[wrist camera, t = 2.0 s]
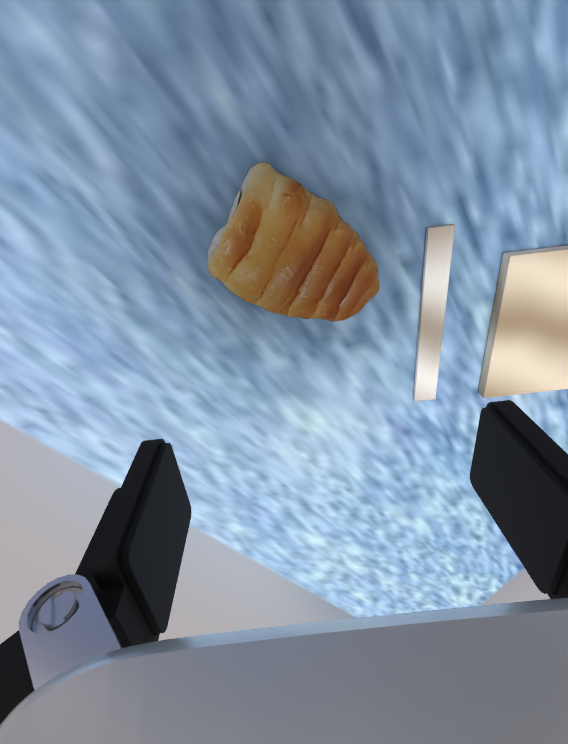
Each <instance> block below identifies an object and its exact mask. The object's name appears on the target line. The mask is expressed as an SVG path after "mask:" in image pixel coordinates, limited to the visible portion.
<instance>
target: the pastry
mask: <svg viewBox="0 0 568 744" xmlns="http://www.w3.org/2000/svg"><path fill="white" fill-rule="evenodd" d="M208 270H209V273H210V274H211V275H212V277H214V278H216V279H218V280H220V281H221V282H222V283H224V284H225V286H226V287H227V288H228V289H229V290H230V291H231V292H233V293H234V294H235V295H237V296H238V297H240V298H242V299H243V300H245V301H246V302H249V303H252V304H255V305H258V306H261V307H263V308H264V309H266V310H268V311H270V312H272V313H280V314H283V315H285V316H288V317H300V318H303V319H309V318H314V319H315V318H319V319H325V320H329V321H340V320H345V319H347V318H349V317H351V316H353V315H355V314H356V313H358V312H359V311H360V310H361V309H362V308H363V307H364V306H365V304H366V303H367V302H368V301H369V300H370V299H371V298H373V297H374V296H375V295H376V293H377V292H378V290H379V280H378V268H377V263H376V261H375V259H374V258H373V257H372V256H371V254H370V253H369V252H368V251H367V250H366V247H365V245H364V243H363V242H362V241H361V240H360V237H359V235H358V234H357V233H356V232H355V231H354V230H353V229H352V228H351V227H350V226H349V225H348V224H347V223H345V222H344V221H343V220H342V219H341V218H340V216H339V215H338V213H337V211H336V208H335V206H334V205H333V203H332V202H330V201H328V200H326V199H323V198H318V197H316V196H315V195H313V194H312V193H311V192H309V191H308V190H306V189H304V188H303V187H302V185H301V184H299V183H298V182H297V181H295V180H293V179H291V178H289V177H286V176H284V175H282V174H280V173H278V172H277V171H276V170H275V169H274V168H273V167H272V166H271V165H270V164H269V163H265V162H261V163H258V164H256V165H254V166H252V167H251V168H250V170H249V172H248V174H247V175H246V177H245V179H244V181H243V183H242V185H241V189H240V190H239V192H238V194H237V196H236V198H235V200H234V204H233V207H232V209H231V211H230V215H229V218H228V221H227V223H226V225H224V226H223V227H222V228H221V229H220V230H219V231H218V232H217V233H216V234H215V236H214V238H213V241H212V243H211V245H210V247H209V250H208Z"/></svg>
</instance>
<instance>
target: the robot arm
mask: <svg viewBox="0 0 568 744" xmlns="http://www.w3.org/2000/svg"><path fill="white" fill-rule="evenodd" d="M470 480H471V484H472V486H473V488H474V489H475V491H476V493H477V494H478V496H479V497H480V499H481V500H482V502H483V503H484V505H485V507H486V508H487V510H488V511H489V513H490V514H491V516H492V517H493V519H494V521H495V522H496V524H497V525H498V527H499V528H500V530H501V532H502V533H503V535H504V536H505V538H506V539H507V541H508V542H509V544H510V546H511V547H512V549H513V550H514V552H515V553H516V555H517V556H518V558H519V560H520V561H521V563H522V564H523V566H524V567H525V569H526V570H527V572H528V574H529V575H530V577H531V578H532V580H533V581H534V583H535V585H536V586H537V587H538V589H539V590H540V591H541V592H542V593H544V594H545V593H547V594H548V595H549V597H550V599H548V600H535V601H526V602H514V603H504V604H494V605H483V606H473V607H463V608H452V609H442V610H432V611H422V612H412V613H403V614H393V615H383V616H373V617H364V618H354V619H344V620H335V621H325V622H316V623H306V624H297V625H288V626H279V627H269V628H260V629H252V630H242V631H232V632H224V633H216V634H208V635H200V636H193V637H184V638H176V639H168V640H162V641H158V639H159V634H160V633H164V632H165V631H166V629H167V625H168V621H169V616H170V612H171V607H172V602H173V598H174V593H175V588H176V583H177V579H178V575H179V569H180V565H181V561H182V556H183V551H184V547H185V542H186V537H187V533H188V528H189V524H190V519H191V505H190V502H189V499H188V496H187V493H186V489H185V486H184V483H183V480H182V477H181V474H180V471H179V468H178V465H177V461H176V458H175V455H174V452H173V449H172V446H171V444H170V443H165V441H164V440H163V439H156V440H147V441H143V442H142V443H141V445H140V447H139V449H138V451H137V453H136V456H135V458H134V460H133V462H132V465H131V467H130V469H129V471H128V473H127V476H126V478H125V480H124V482H123V484H122V487H121V488H118V489H116V490H115V492H114V493H113V495H112V497H111V499H110V501H109V503H108V505H107V507H106V509H105V512H104V514H103V516H102V518H101V520H100V522H99V524H98V527H97V529H96V531H95V533H94V535H93V537H92V539H91V541H90V544H89V546H88V548H87V550H86V552H85V554H84V556H83V559H82V561H81V563H80V565H79V567H78V569H77V571H76V573H75V575H67V576H63V577H59V578H57V579H55V580H54V581H51V582H50V583H48V584H47V585H45V586H44V587H43V588H41V589H40V590H39V591H38V592H37V593H36V594H35V595H34V596H33V597H32V598H31V599H30V600H29V602H28V603H27V605H26V606H25V608H24V610H23V611H22V614H21V617H20V620H19V631H17V632H16V633H15V634H14V635H12V636H11V637H9V638H8V639H7V640H6V641H4V642H3V643H1V644H0V744H568V454H567V453H566V452H565V451H564V450H563V449H562V448H561V447H560V446H559V445H558V444H556V443H555V442H554V441H553V440H552V439H551V438H550V437H549V436H548V435H547V434H546V433H545V432H544V431H543V430H542V429H541V428H540V427H539V426H538V425H537V424H536V423H535V422H534V421H532V420H531V419H530V418H529V417H528V416H527V415H526V414H525V413H524V412H523V411H522V410H521V409H520V408H519V407H518V406H517V405H516V404H515V403H514V402H512V401H510V400H506V401H497V402H490V403H488V404H487V406H486V408H483V409H482V410H481V414H480V420H479V426H478V431H477V437H476V443H475V448H474V454H473V460H472V466H471V471H470Z"/></svg>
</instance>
